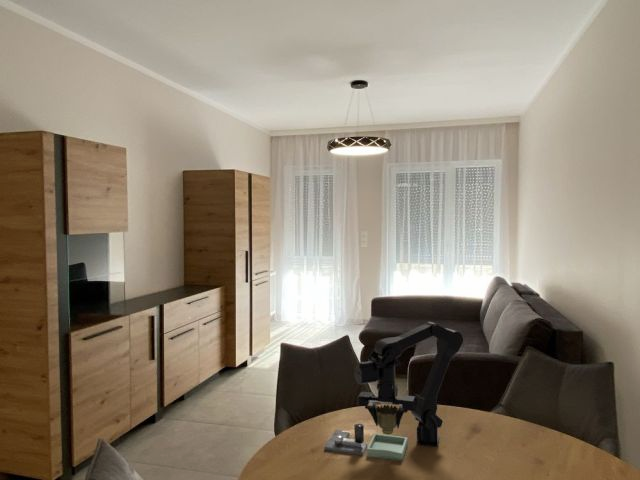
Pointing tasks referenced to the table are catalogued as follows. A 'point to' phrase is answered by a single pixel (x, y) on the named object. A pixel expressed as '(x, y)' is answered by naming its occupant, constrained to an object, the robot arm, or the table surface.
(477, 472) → the table surface
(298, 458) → the table surface
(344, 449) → the grey l-bracket
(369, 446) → the tray
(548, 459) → the table surface
